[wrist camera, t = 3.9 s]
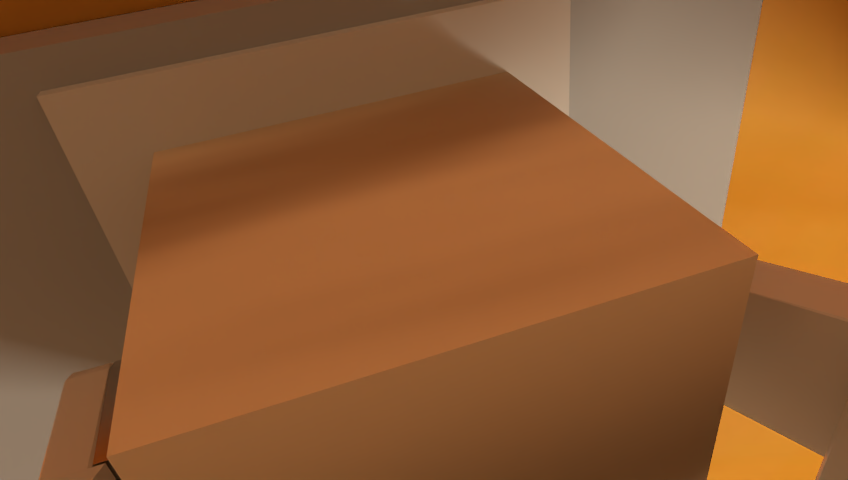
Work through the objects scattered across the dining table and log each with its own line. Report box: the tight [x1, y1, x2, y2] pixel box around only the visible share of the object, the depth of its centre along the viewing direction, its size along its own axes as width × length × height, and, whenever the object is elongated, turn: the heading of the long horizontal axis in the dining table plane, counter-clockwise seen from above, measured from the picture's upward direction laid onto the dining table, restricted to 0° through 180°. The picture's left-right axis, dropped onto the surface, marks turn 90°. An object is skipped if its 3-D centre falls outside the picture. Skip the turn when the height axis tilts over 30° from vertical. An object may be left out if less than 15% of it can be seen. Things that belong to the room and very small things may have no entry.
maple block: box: [106, 72, 758, 480], centre depth 8 cm, size 5×5×5 cm
